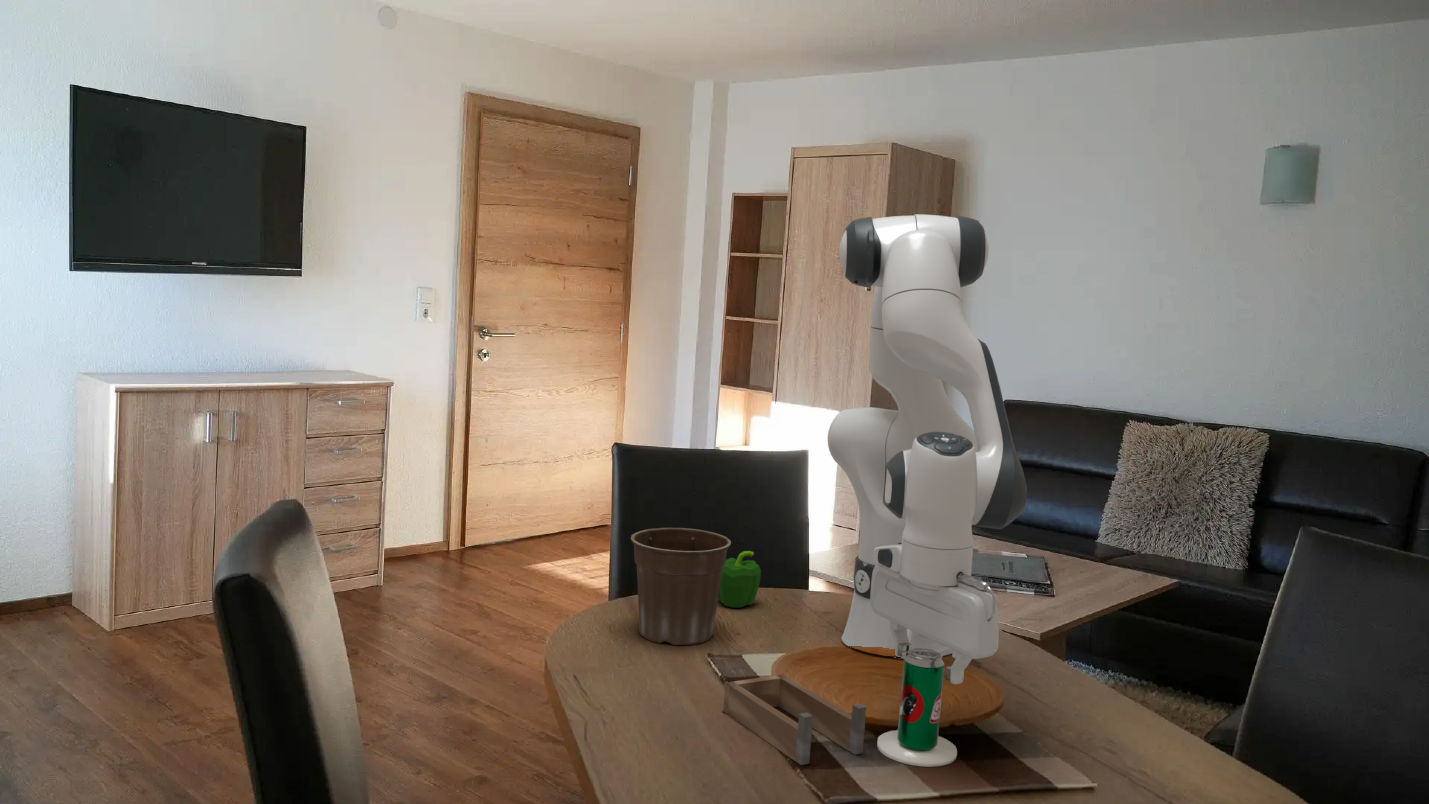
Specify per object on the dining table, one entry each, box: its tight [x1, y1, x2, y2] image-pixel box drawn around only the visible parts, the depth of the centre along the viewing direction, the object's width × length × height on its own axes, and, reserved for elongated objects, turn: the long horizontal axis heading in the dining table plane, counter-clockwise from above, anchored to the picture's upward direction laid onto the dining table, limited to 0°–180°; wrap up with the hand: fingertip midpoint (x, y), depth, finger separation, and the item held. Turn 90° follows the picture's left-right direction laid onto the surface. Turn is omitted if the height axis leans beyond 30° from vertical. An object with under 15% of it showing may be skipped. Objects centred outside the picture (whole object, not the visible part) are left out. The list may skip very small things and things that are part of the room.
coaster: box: [876, 729, 958, 768], centre depth 142 cm, size 10×10×1 cm
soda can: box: [897, 648, 945, 751], centre depth 141 cm, size 5×5×12 cm
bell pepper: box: [718, 550, 762, 609], centre depth 202 cm, size 8×8×10 cm
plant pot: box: [630, 527, 732, 646], centre depth 182 cm, size 16×16×16 cm
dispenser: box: [722, 674, 867, 766], centre depth 145 cm, size 9×18×6 cm, turn 30°
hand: (927, 669), depth 141 cm, fingers open, 8 cm apart
